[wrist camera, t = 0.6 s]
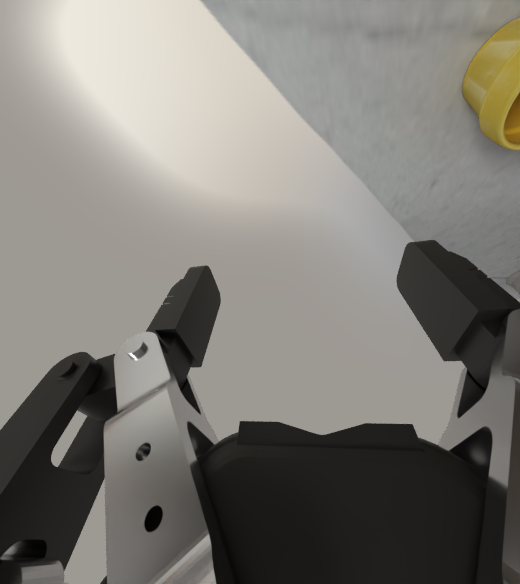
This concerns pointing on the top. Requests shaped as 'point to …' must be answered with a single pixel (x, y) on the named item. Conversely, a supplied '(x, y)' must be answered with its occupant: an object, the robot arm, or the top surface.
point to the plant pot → (497, 86)
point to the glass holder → (514, 281)
